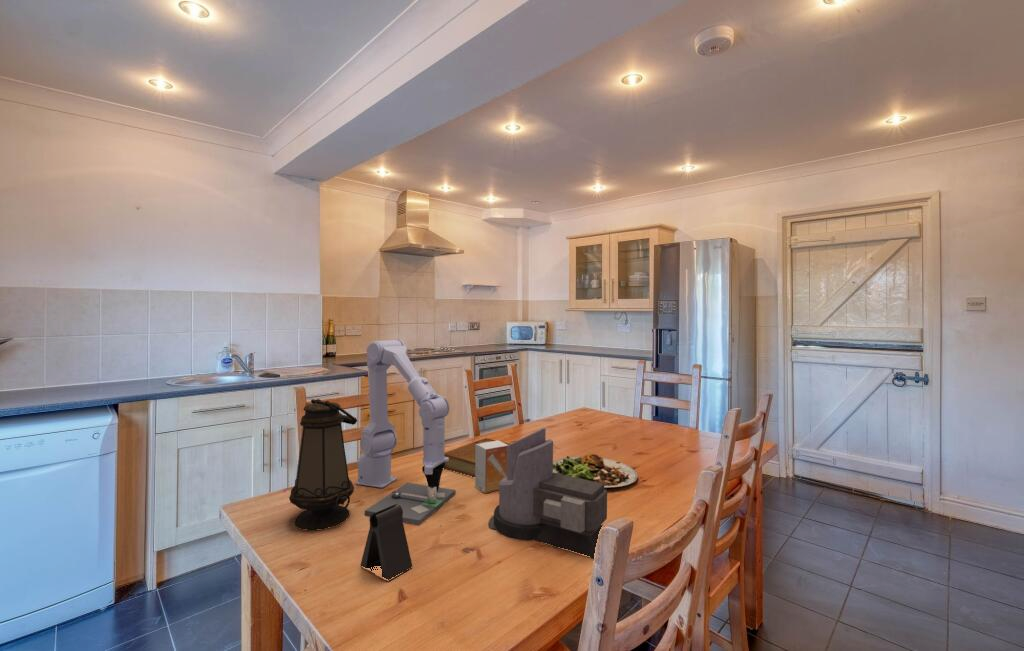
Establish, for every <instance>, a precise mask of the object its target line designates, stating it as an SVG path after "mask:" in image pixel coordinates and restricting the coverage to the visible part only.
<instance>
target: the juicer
mask: <svg viewBox="0 0 1024 651" xmlns="http://www.w3.org/2000/svg"><path fill="white" fill-rule="evenodd" d="M546 432H547V431H546V427H543V428H541V429H539V430H537V431H534V432H532V433H529V434H528V435H526V436H523V437H522V438H519V439H518V440H515V441H514V442H511V443H510V444H509V445H508V446H507V477H505V478H503V479H502V480H501V482H500V483H499V490H498V496H499V497H498V500H499V502H498V505H496V507H495V508H494V511H493V515H492V516H491V517H490V518H489V520H488V524H487V526H488V529H489V530H492V531H496V532H497V533H498V534H500V535H502V536H503V537H506V538H509V539H513V540H519V541H534V542H538V543H541V542H543V543H542V544H544V543H547V544H546V545H548V544H550V545H549V546H551V545H553V546H552V547H554V546H556V547H555V548H557V547H560V548H564V549H568V550H571V551H574V552H577V553H580V554H584V555H587V556H590V557H591V558H590V559H592V560H595V559H594V553H595V547H596V543H597V539H598V534H599V531H600V529H601V527H602V526H604V525H603V524H604V523H605V521H606V520H607V518H608V491H607V488H604V484H603V483H599V482H594V481H590V480H585V479H580V478H576V477H571V476H567V475H562V474H558V473H553V463H554V440H553V439H546ZM560 548H559V549H560Z"/></svg>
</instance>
